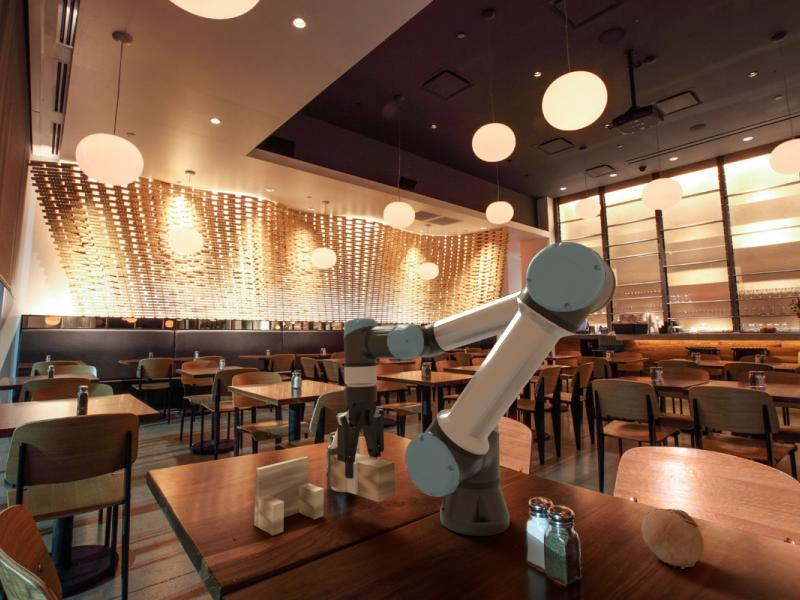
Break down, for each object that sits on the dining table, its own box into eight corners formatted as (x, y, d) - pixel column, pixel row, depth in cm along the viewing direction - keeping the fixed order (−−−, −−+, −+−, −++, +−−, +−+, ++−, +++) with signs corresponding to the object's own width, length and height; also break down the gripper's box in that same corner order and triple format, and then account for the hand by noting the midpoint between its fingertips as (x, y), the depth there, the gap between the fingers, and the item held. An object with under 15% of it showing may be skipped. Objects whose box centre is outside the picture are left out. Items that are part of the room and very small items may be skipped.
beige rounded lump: (693, 578, 75) (717, 527, 75) (684, 584, 69) (710, 529, 69) (638, 541, 82) (660, 494, 82) (626, 544, 76) (649, 493, 76)
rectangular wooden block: (394, 495, 91) (394, 455, 92) (378, 502, 87) (378, 460, 88) (344, 480, 102) (344, 444, 103) (328, 485, 98) (328, 448, 99)
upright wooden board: (323, 516, 96) (324, 462, 97) (272, 535, 86) (274, 475, 87) (304, 507, 100) (305, 456, 102) (254, 525, 91) (255, 468, 92)
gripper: (376, 381, 106) (378, 476, 103) (319, 387, 93) (319, 496, 90) (398, 382, 101) (400, 482, 98) (341, 389, 88) (342, 504, 85)
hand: (362, 489), depth 94 cm, fingers closed on rectangular wooden block, 5 cm apart
